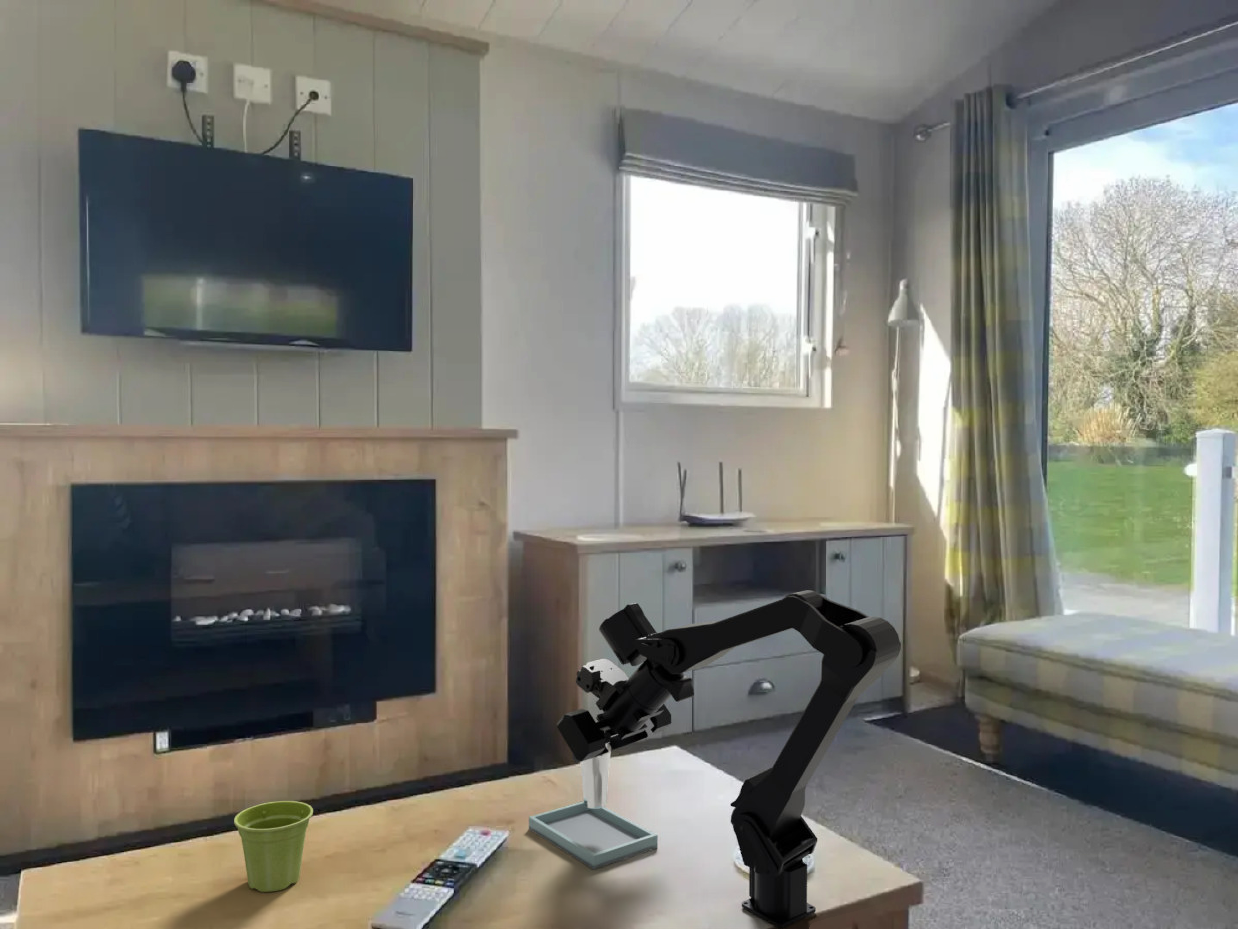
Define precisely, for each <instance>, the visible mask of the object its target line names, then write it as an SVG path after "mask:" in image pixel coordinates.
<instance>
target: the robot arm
mask: <svg viewBox="0 0 1238 929" xmlns="http://www.w3.org/2000/svg"><path fill="white" fill-rule="evenodd" d="M792 629H793V630H794V631H796V632H798V633H800V635H801V636H802V637H803V639H805V640H806V641H807V643H808V645H810V646H811V647H812V648H813V649H815V650H816V651H817V652H819V653H821V654H822V655H823V656H822V659H821V662H820V663H821V664H820V666H821V667H820V681H819V684H818V686H817V687H816V690H815V691H814V693H813V694H812V696H811V698H810V700H809V702H808V704H807V705H806V707H805V709H804V710H803V712H802V714H801V716H800V718H799V719H798V722H797V723H796V725H795V727H794V728H793V730H792V732H791V733H790V735H789V737H788V739H787V741H786V743H785V745H784V746H783V748H782V750H781V752H780V753H779V755H778V756H777V759H776V761H775V762H774V764H773V766H772V767H769V768H766V769H765V770H762V771H760V772H759V773H757V774H754V775H752V776H750V777H748V778H746V779H745V780H744V781H743V783H742V785H741V787H740V791H739V794H738V796H737V798H736V799H735V800H734V801H732V802H731V803H730V806H731V807H733V810H732V812H731V815H730V824H731V825H732V828H733V832H734V834H735V837H736V841H737V844H738V847H739V851H740V855H741V859H742V863H743V865H744V866H745V867H748V868H749V870H748V872H749V873H748V874H749V878H748V880H749V881H748V882H749V884H748V887H749V888H748V895H749V897H750V898H748V899H746V900H743V901H741V907H742V909H745V910H746V911H748V912H750V913H751V914H753V915H755V916H757V917H759V918H760V919H762V920H765V922H768V923H770V924H772V925H774V926H775V927H776V928H779V929H780V928H781V929H782V928H784V927H787V926H789V925H790V924H791V925H792V924H793V923H795V922H797V921H800V920H802V919H804V918H806V917H808V916H810V915H812V914H815V913H816V906H814V905H813V904H811V903H808V864H807V863H805V862H804V860H803V859H804V858H806V857H808V856H809V855H812V854H813V853H814V851H815V848H816V846H817V843H818V838H817V836H816V834H815V833H814V832H813V830H812V829H811V827H810V826H809V824H808V823H807V822H806V820H805V819H804V818H803V816H802V815H803V812H804V809H805V805H806V788H807V786H808V784H809V782H810V780H811V779H812V777H813V775H814V773H815V771H816V770H817V768H818V767H819V765H820V763H821V762H822V760H823V758H824V756H825V754H826V753H827V751H828V749H829V748H830V747H831V744H832V743H833V741H834V739H835V737H836V735H837V734H838V732H839V731H840V729H841V727H842V725H843V724H844V722H845V720H846V719H847V717H848V715H849V713H850V712H851V710H852V709H853V707H854V705H855V703H856V701H857V700H858V699H859V697H860V696H861V694H863V693H864V692H865V691H866V690H867V689H869V688H870V687H871V686H872V685H873V684H874V683H875V682H876V681H877V680H878V679H879V678H880V677H881V676H883V674H884V673H885V672H886V671H887V670H888V669H889V667H890V666H891V665H892V664H893V663H894V662H895V661H896V660H897V658H898V657H899V655H900V653H901V649H902V642H901V641H900V637H899V633H898V632H897V630H896V628H895V626H894V625H892V623H890V622H889V621H888V620H887V619H884V618H882V617H879V616H868V615H866V614H865V613H864V612H861V611H859V610H857V609H855V608H852V607H850V606H846V605H844V604H841V603H838V602H837V601H834V600H831V599H828V598H827V597H825V596H823V595H822V594H820V593H818V592H817V591H815V590H811V589H809V590H802V591H799V592H793V593H789V594H788V595H785V597H784V598H782V599H779V600H775V601H773V602H770V603H767V604H765V605H761V606H759V607H756V608H754V609H750V610H747V611H744V612H742V613H739V614H736V615H733V616H731V617H728V618H725V619H722V620H713V621H712V620H710V621H704V622H703V621H702V622H694V623H690V624H687V625H682V626H677V627H673V628H670V629H669V628H668V629H665V630H664V631H660V632H657V631H656V629H655V628H654V626H653V625H652V624H651V622H650V621H649V620H648V618H647V617H646V615H645V613H644V611H643V609H642V607H641V606H640V605H639V603H638V602H634V603H633V602H632V603H627V604H626V606H625V607H624V608H622V609H620V610H618V611H616V612H615V613H614V614H612V615H611V616H610V617H608V618H606V619H604V621H603V620H602V623H601V624H600V625H599V628H598V631H599V633H600V634H601V635H602V637H603V639H604V640H605V642H606V643H607V644H608V646H609V647H610V649H611V651H612V652H613V653H614V655H615V656H616V658H617V659H618V661H619V662H620V664H621V665H622V666H624V665H628V664H630V666H632V667H636V666H638V668H637V669H636V670H635V671H634V672H633V673H632V674H631V675H630V676H629V677H628V676H627V673H625V671H623V670H622V669H621V668H620V667H619V666H618V665H616V664H615V663H614V662H612V661H611V660H609V659H607V658H601V659H597V660H593V661H592V660H591V661H588V662H586V664H585V665H582V666H581V669H580V670H577V672H576V678H575V684H576V686H578V687H579V688H580V689H582V691H584V692H585V693H591V694H592V695H594V696H595V698H598V699H597V701H595V705H596V707H597V708H598V710H599V711H602V713H601V712H600V713H598V714H596V715H595V718H594V717H593V716H592V714H591V712H590V711H589V710H587V709H584V708H580V709H577V710H574V711H570V712H568V713H565V714H563V715H562V716H561V718H559V720H558V721H557V722H556V728H557V729H558V732H559V733H560V734H561V736H562V738H563V740H564V741H565V743H566V744H567V746H568V748H569V750H570V751H571V753H572V755H571V758H572V761H573V762H574V763H575V764H579V763H580V762H582V761H585V760H588V759H591V758H594V757H597V756H600V755H603V754H605V753H608V752H609V751H608V749H607V748H606V744H609V745H610V746H611V751H614V750H617V749H619V748H623V747H626V746H629V745H631V744H634V743H637V742H641V741H642V740H646V739H647V738H648V737H649V733H648V732H647V730H646V729H647V728H648V725H647V724H646V723H647V722H649V720H650V722H651V723H652V725H653V727H652V728H650V732H651V734H652V735H656V734H660V733H661V732H664V731H666V729H668V728H669V726H670V725H672V714H671V712H670V710H669V709H668V707H667V706H666V704H665V703H666V702H667V701H668V700H669V699H670V698H671V697H672V699H674V701H675V702H676V703H679V702H682V701H685V700H687V699H690V698H693V697H694V696H695V690H694V687H693V678H692V677H687V676H686V675H685V674H684V673H686V672H689V671H693V670H694V671H695V670H696V669H700V668H704V667H706V666H708V665H710V664H713V663H714V662H715V661H717V660H719V659H720V658H722V657H724V656H725V655H726V654H727V653H729V652H730V651H731V650H733V649H735V648H737V647H740V646H742V645H745V644H749V643H752V642H755V641H758V640H761V639H763V638H764V639H765V638H768V637H771V636H773V635H777V634H779V633H783V632H787V631H789V630H792ZM639 665H640V666H639ZM595 719H596V720H597V721H595Z"/></svg>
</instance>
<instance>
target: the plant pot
mask: <svg viewBox="0 0 1238 929" xmlns="http://www.w3.org/2000/svg"><path fill="white" fill-rule="evenodd" d="M313 813H314V808H313V807H312V805H309V804H308V803H305V802H301V801H296V800H280V801H270V802H265V803H260V804H257V805H253V806H251V807H247V808H246V809H244V810H241V811H240V812H238V813H237V814H236V815H235V817H234V819H233V822H234V825H235V827H236V828H237V832H238V835H239V837H241V844H242V849H243V855H244V856H243V857H244V864H245V869H246V870H245V871H246V878H247V882H248V884H247V885H248V887H249V888H250V889H252V890H253V889H256V890H258V891H259V892H260V893H261V892H263V893H268V892H269V893H270V892H277V891H281V890H284V889H287V888H288V887H289V886H290V885H291V884H296V883H297V882H298V881H299V879H300V874H301V869H302V868H301V867H302V859H303V854H304V847H305V839H306V832H307V828H308V826H309V823H310V819H311V818H312V816H313V815H314V814H313Z"/></svg>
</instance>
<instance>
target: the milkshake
mask: <svg viewBox="0 0 1238 929" xmlns="http://www.w3.org/2000/svg"><path fill="white" fill-rule="evenodd" d="M606 748H607V749H608V751H609V752H608V753H605V754H603V755H600V756H597V757H594V758H591V759H588V760H585V761H582V762H579V763H580V764H579V765H580V772H581V773H580V774H581V781H582V782H581V784H582V794H583V795H582V796H583V801H584V806H585V807H587V808H590V809H600V808H603V807H605V808H606V806H607V803H608V786H609V772H610V771H609V770H610V764H611V753H612V752H611V751H612V750H611V746H610V745H609V744H606Z"/></svg>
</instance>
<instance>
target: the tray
mask: <svg viewBox="0 0 1238 929" xmlns="http://www.w3.org/2000/svg"><path fill="white" fill-rule="evenodd" d="M528 830H529V831H531V832H532V833H534V834H536V835H537V836H539V837H541V839H544V840H546V841H547V842H549V843H550V844H551V845H553V846H555V847H557V848H558V849H560V850H561V851H563V852H565V853H566V854H568V855H569V856H571V857H573V858H574V859H576V860H577V861H579V862H581V863H583V864H584V865H585V866H587V867H588V868H590V869H591V870H597V869H600V868H602V867H603V868H604V867H606V866H609V865H611V864H613V863H617V862H620V861H623V860H625V859H626V860H627V859H628V858H631V857H635V856H637V855H640V854H643V853H646V852H649V851H653V850H655V849H658V837H659V836H658V834H657V833H654V832H653V831H651V830H649V829H648V828H646V827H643V826H641V825H640V824H637V823H636V822H634V821H631V820H630V819H628V818H626V817H624V816H623V815H621V814H619V813H616V812H615V811H612V810H611V809H609V808H607V807H606V806H605V807H603V808H600V809H590V808H587V807H585V806H584V800H583V801H580V802H577V803H573V804H570V805H567V806H563V807H559V808H556V809H555V808H554V809H552V810H548V811H545V812H541V813H538V814H534V815H531V816H528Z"/></svg>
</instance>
